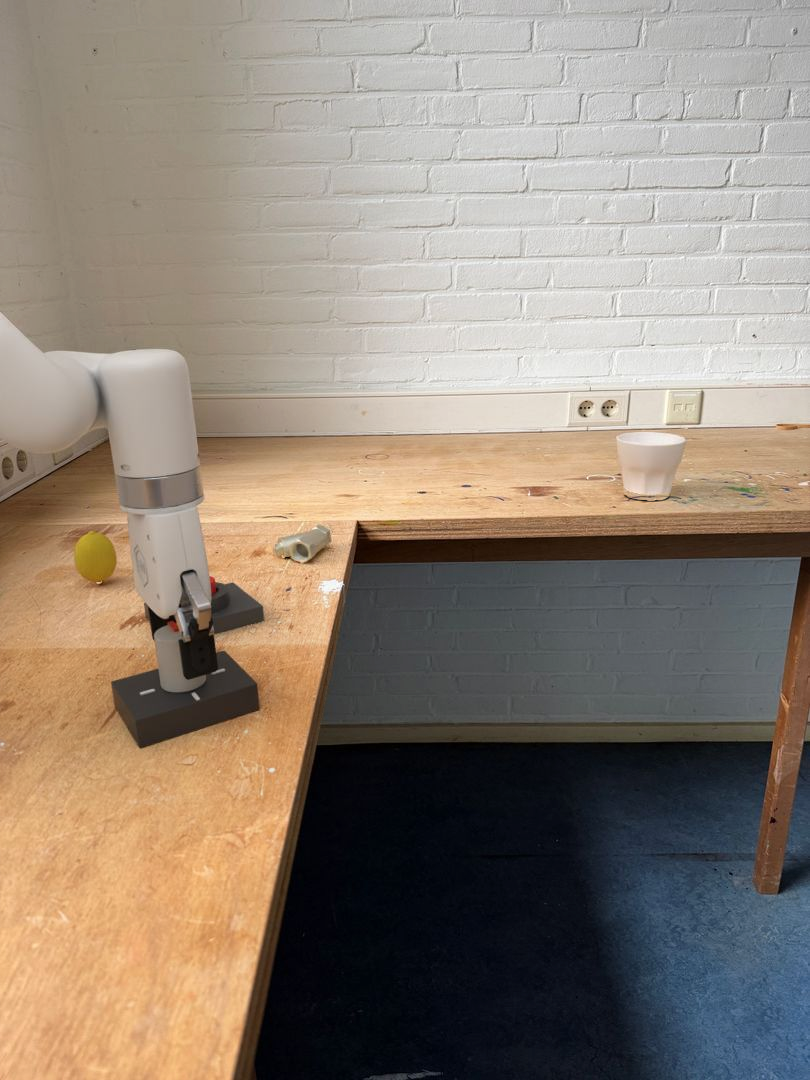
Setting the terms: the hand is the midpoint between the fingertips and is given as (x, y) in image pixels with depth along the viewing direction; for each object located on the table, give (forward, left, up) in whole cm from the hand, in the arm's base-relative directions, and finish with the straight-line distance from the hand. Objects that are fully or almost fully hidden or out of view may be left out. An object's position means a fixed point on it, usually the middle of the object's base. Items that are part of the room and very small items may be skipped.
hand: (184, 655), depth 79 cm
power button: (+9, +20, -2) cm, 22 cm away
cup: (+98, +26, -6) cm, 101 cm away
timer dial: (0, 0, -3) cm, 3 cm away
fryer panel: (0, 0, -6) cm, 6 cm away
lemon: (+1, +41, -6) cm, 42 cm away
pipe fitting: (+30, +35, -6) cm, 46 cm away
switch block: (+9, +20, -6) cm, 23 cm away
